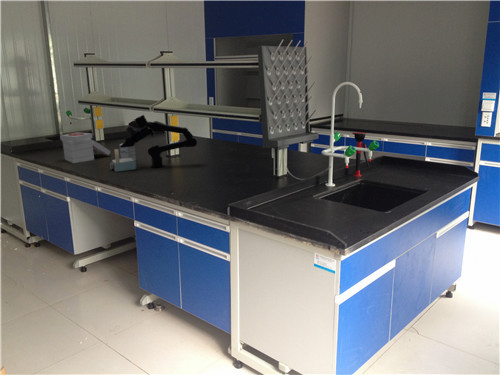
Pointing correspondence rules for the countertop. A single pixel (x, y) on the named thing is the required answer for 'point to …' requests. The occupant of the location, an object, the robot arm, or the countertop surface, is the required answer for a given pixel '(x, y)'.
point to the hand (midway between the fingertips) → (122, 145)
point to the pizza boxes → (80, 147)
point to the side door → (123, 163)
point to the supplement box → (127, 152)
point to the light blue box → (112, 164)
